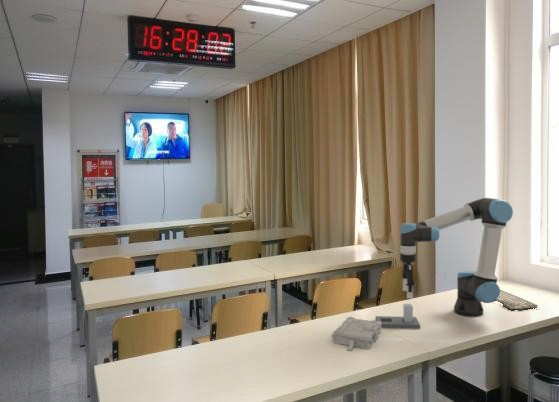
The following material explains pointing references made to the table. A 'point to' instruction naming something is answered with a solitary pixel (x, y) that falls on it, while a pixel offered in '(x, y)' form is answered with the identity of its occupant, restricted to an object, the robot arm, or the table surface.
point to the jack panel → (397, 322)
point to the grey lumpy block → (357, 333)
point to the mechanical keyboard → (514, 302)
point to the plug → (408, 312)
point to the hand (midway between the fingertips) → (407, 294)
